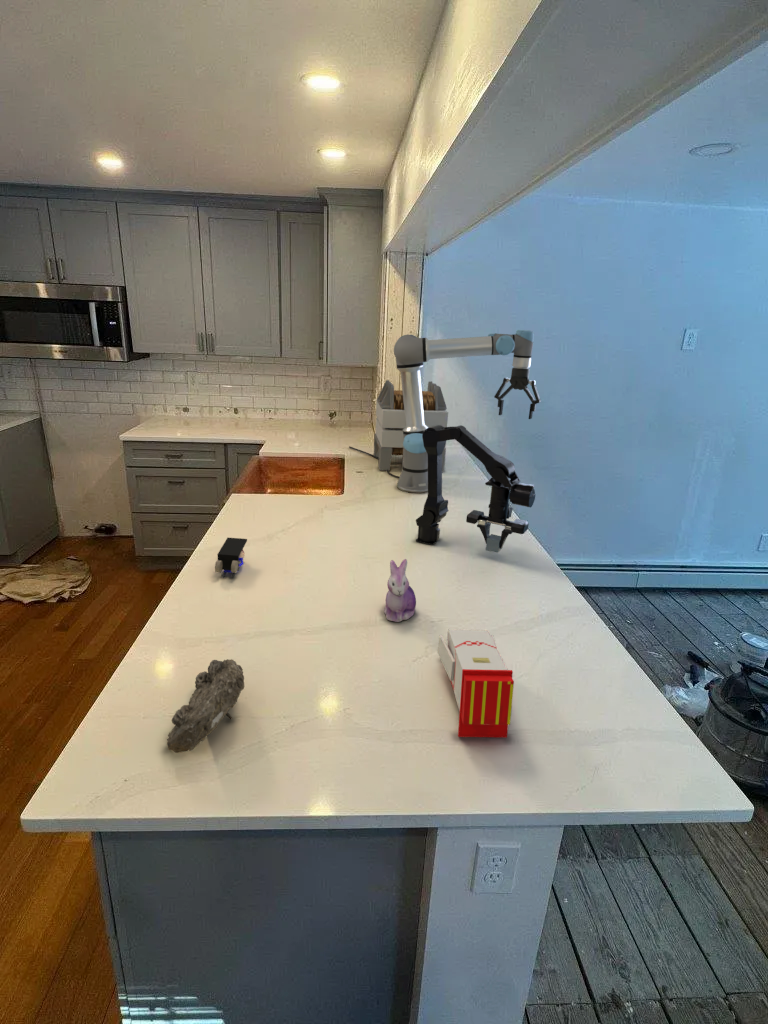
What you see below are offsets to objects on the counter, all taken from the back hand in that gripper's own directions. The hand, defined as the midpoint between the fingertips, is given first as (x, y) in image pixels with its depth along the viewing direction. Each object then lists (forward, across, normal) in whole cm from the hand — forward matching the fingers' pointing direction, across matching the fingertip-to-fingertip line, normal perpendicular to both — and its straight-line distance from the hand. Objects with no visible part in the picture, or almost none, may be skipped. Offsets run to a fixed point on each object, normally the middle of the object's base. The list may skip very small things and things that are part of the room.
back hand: (515, 416), depth 251 cm
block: (+29, -22, +83) cm, 91 cm away
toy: (+32, -42, +151) cm, 160 cm away
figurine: (+32, -14, +131) cm, 136 cm away
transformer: (+32, +55, -6) cm, 64 cm away
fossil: (+32, -3, +185) cm, 188 cm away
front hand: (+28, -23, +83) cm, 90 cm away
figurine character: (+32, +39, +136) cm, 145 cm away
